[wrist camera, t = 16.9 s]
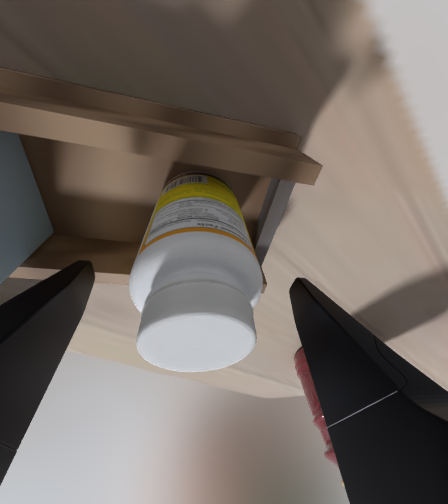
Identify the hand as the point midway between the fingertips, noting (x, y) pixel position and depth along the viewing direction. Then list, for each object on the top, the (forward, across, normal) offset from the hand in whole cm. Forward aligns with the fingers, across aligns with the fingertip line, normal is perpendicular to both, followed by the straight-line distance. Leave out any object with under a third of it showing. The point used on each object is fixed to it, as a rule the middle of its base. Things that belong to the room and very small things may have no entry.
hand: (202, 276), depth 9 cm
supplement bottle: (+7, 0, 0) cm, 7 cm away
